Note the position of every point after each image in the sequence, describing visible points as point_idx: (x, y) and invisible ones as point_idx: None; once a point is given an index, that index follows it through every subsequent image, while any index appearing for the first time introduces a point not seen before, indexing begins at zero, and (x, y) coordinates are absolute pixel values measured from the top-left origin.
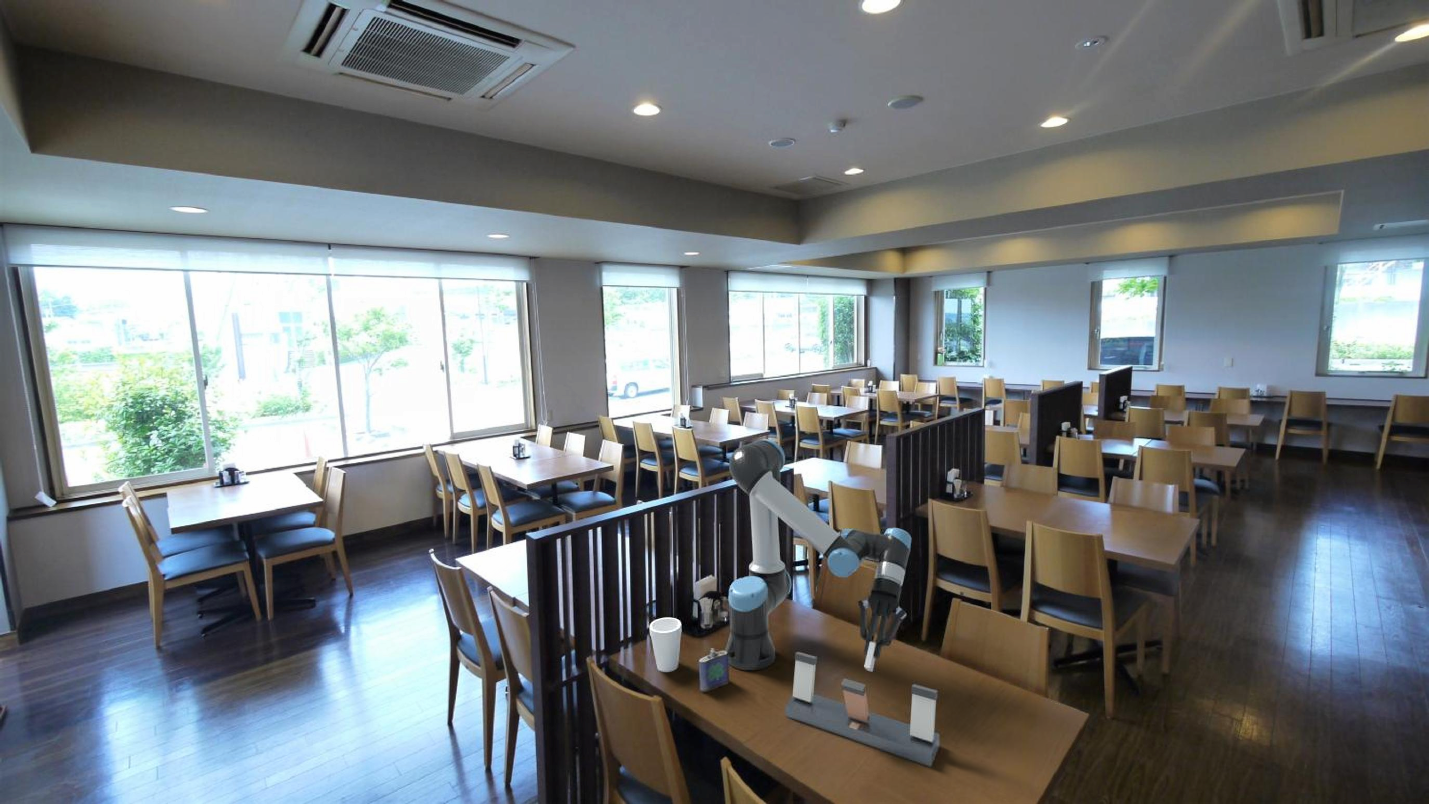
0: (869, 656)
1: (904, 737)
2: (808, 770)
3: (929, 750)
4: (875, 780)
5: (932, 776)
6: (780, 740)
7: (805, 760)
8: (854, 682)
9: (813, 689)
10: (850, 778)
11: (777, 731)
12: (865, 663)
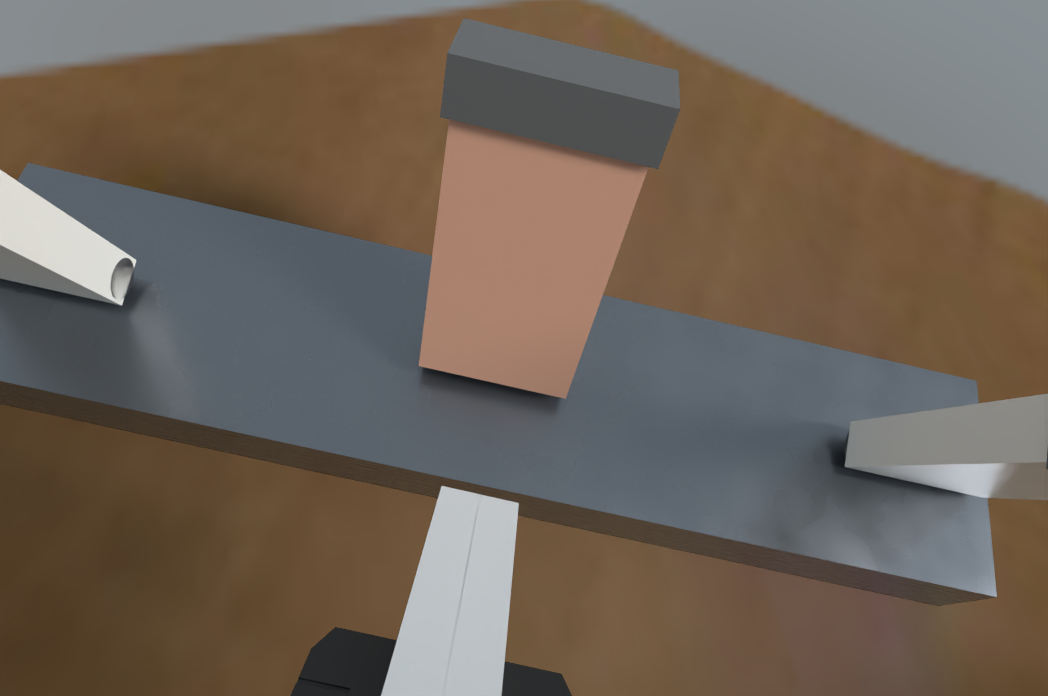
0: (461, 590)
1: (181, 269)
2: None
3: None
4: (365, 82)
5: (71, 154)
6: (855, 220)
7: (696, 129)
8: (561, 76)
9: (890, 462)
10: None
11: (901, 277)
12: (507, 525)
